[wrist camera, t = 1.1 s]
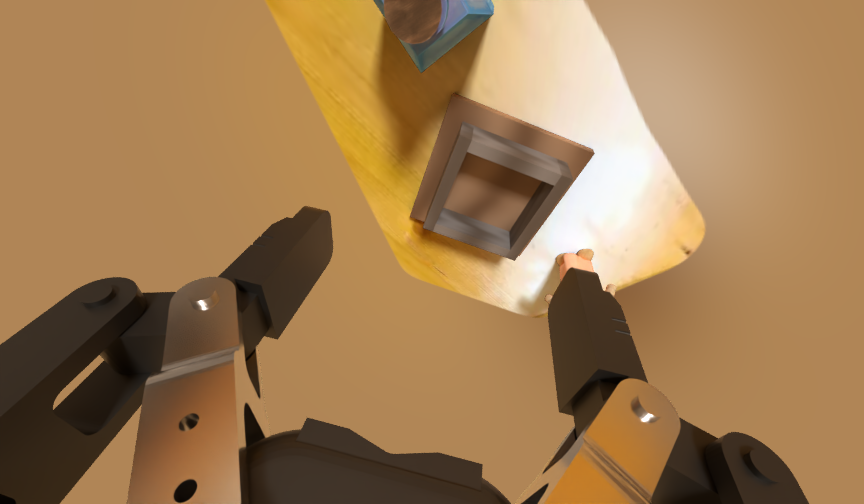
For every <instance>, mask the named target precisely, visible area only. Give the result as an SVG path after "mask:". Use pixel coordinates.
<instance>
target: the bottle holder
mask: <svg viewBox="0 0 864 504" xmlns="http://www.w3.org/2000/svg"><path fill="white" fill-rule="evenodd" d="M594 154H595V153H594V151H593V149H591V148H588V147H586V146H583V145H581V144H578V143H576V142H573V141H571V140H568V139H566V138H564V137H561V136H559V135H556V134H554V133H551V132H549V131H546V130H544V129H541V128H539V127H536V126H534V125H531V124H529V123H527V122H524V121H522V120H519V119H517V118H514V117H512V116H509V115H507V114H504V113H502V112H499V111H497V110H494V109H492V108H489V107H487V106H485V105H482V104H480V103H477V102H475V101H472V100H470V99H467V98H465V97H462V96H460V95H457V94H455V93H453V94H452V97H451V100H450V103H449V106H448V108H447V111H446V114H445V117H444V120H443V123H442V126H441V129H440V131H439V134H438V137H437V140H436V143H435V146H434V149H433V152H432V154H431V157H430V160H429V163H428V166H427V169H426V172H425V175H424V177H423V180H422V183H421V186H420V189H419V192H418V195H417V197H416V200H415V203H414V206H413V209H412V212H411V215H410V217H412V218H415V219H418V220H420V221H423V222H424V225H423V228H424V229H427V230H430V231H433V232H436V233H438V234H441V235H444V236H447V237H450V238H453V239H455V240H458V241H461V242H464V243H467V244H469V245H472V246H475V247H478V248H481V249H483V250H486V251H489V252H492V253H495V254H497V255H500V256H503V257H506V258H509V259H512V260H514V261H515V259H516V258H517V257H518V256H520V255H521V253H522V252H523V251H524V249H525V248H526V247H527V245H528V244H529V242H530V241H531V240H532V238H533V237H534V236H535V234H536V233H537V232H538V230H539V229H540V227H541V226H542V225H543V223H544V222H545V221H546V219H547V218H548V216H549V215H550V214H551V212H552V211H553V210H554V208H555V207H556V206H557V204H558V203H559V201H560V200H561V199H562V197H563V196H564V195H565V193H566V192H567V191H568V189H569V188H570V186H571V185H572V184H573V182H574V181H575V180H576V178H577V177H578V175H579V174H580V173H581V171H582V170H583V169H584V167H585V166H586V165H587V163H588V162H589V160H590V159H591V158H592V156H593V155H594Z"/></svg>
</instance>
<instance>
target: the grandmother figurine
mask: <svg viewBox="0 0 864 504" xmlns="http://www.w3.org/2000/svg"><path fill="white" fill-rule="evenodd" d="M593 255H594V253H593V251H592V250H590V249H582V250H580V251H579V252H578V253H577V255H576V254H574V253H564V254H560V255H558V256H557V257H556V261H557V263H558V264H559V266H560V268H559V269H560V278H561V281H562V279H563V277H564V276H565V274H566V272H567V271H568V269H569V268H571V267H573V268H578V269H582V270H587V271H591V272H594V270H593V266H592V262H591V260H592V257H593ZM605 291H607V292H610V293H611V294H612V296H613V297H614V295H615V291H616V286H615V285H613V284H609V285H607V287H606V290H605ZM552 297H553V296H552V295H550V294H548V295H546V296H545V301H546V302H548V304H550V301H551V299H552Z"/></svg>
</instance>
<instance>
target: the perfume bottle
mask: <svg viewBox="0 0 864 504" xmlns="http://www.w3.org/2000/svg"><path fill="white" fill-rule="evenodd" d="M374 2H375V3H376V5H377V6H378V8H379V9H380V11H381V13H382V14H383V16H384V17H385V19H386V21H387V23H388V25H389V27H390V29H391V31H392V32H393V33H394V34H395V35H396V37H397V38H398V39H399V40H400V42H401V43H402V45H403V46H404V48H405V49H406V51H407V52H408V54H409V55H410V57H411V59H412V60H413V62H414V63H415V65H416V66H417V68H418V69H419V71H420V72H421V73H422V72H423V71H424V70H426V69H427V68H428V67H429V66H430V65H432V64H433V63H434V62H435V61H437V60H438V59H439V58H440V57H442V56H443V55H444V54H445V53H446V52H448V51H449V50H450V49H451V48H453V47H454V46H455V45H456V44H458V43H459V42H460V41H461V40H462V39H464V38H465V37H466V36H467V35H469V34H470V33H471V32H472V31H474V30H475V29H476V28H477V27H478V26H480V25H481V24H482V23H483V22H485V21H486V20H487V19H488V18H490V17H491V16H492V15H493V14H494V5H493V3H492V1H491V0H374Z"/></svg>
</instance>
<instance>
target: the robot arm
mask: <svg viewBox="0 0 864 504" xmlns="http://www.w3.org/2000/svg"><path fill="white" fill-rule="evenodd" d="M332 252H333V240H332V228H331V216H330V213H329V212H328V211H326V210H321V209H317V208H313V207H308V206H304V207H303V208H302V209H301V210H300V211H299V212H298V213H297V214H296V215H295V216H294V217H293V218H288V217H286V218H284V219H282V220H280V221H278V222H276V223H274V224H272V225H271V226H270V227H269V228H268V229H267V230H266V231H265V232H264V233H263V234H262V236H261V237H259V238H258V239H257V240H255V242H254V243H253V245H250V247H248V248H247V249H246V250H245V251H244V252H243V253H242V254H241V255H240V256H239V257H238V258H237V259H236V260H235V261H234V262H233V263H232V264H231V265H230V266H229V267H228V268H227V269H226V270H225V271H224V272H223V273H221V274H220V275H219V276H218V277H207V278H202V279H198V280H195V281H192V282H190V283H188V284H186V285H185V286H183V287H182V288H180V289H179V290H178V291H177V292H160V293H158V292H157V293H142V292H141V291H140V289H139V288H138V286H137V285H136V283H135V282H134V281H132V280H130V279H127V278H121V277H116V278H115V277H113V278H106V279H101V280H97V281H94V282H91V283H88V284H86V285H84V286H82V287H80V288H78V289H76V290H75V291H73V292H72V293H70V294H69V295H68V296H66V297H65V298H64V299H62V300H61V301H59V302H58V303H57V304H55V305H54V306H53V307H51V308H50V309H49V310H48V311H46V312H44V313H43V314H42V315H40V316H39V317H38V318H36V319H35V320H34V321H32V322H31V323H30V324H28V325H27V326H25V327H24V328H23V329H21V330H20V331H19V332H17V333H16V334H14V335H13V336H12V337H11V338H9V339H8V340H6V341H5V342H4V343H2V344H1V345H0V504H60V502H61V501H62V500H63V499H64V498H65V496H66V495H67V494H68V493H69V492H70V490H71V489H72V488H73V487H74V485H75V484H76V483H77V482H78V481H79V479H80V478H81V477H82V476H83V475H84V473H85V472H86V471H87V470H88V469H89V467H90V466H91V465H92V463H94V461H95V460H96V459H97V458H98V457H99V455H100V454H101V453H102V451H103V450H104V449H105V448H106V447H107V446H108V444H109V443H110V442H111V441H112V439H113V438H114V437H115V436H116V435H117V434H118V432H119V431H120V430H121V429H122V427H123V426H124V425H125V424H126V423H127V421H128V420H129V419H130V418H131V417H132V415H133V414H134V413H135V412H136V411H137V409H138V408H139V407H140V406H141V404H142V407H141V414H140V420H139V427H138V433H137V440H136V446H135V454H134V460H133V466H132V473H131V479H130V486H129V492H128V500H127V504H511V503H510V502H509V501H508V500H507V498H506V497H505V496H504V495H503V494H502V493H501V492H500V491H499V490H498V489H497V488H495V487H494V486H493V485H492V484H490V483H489V482H488V481H486V480H485V479H483V478H482V464H479V463H475V462H472V461H468V460H464V459H460V458H456V457H453V456H449V455H445V454H442V453H413V454H390V453H387V452H385V451H384V450H382V449H380V448H379V447H377V446H376V445H374V444H373V443H371V442H369V441H368V440H366V439H365V438H363V437H361V436H360V435H358V434H357V433H355V432H353V431H352V430H350V429H348V428H344V427H340V426H337V425H333V424H329V423H325V422H322V421H318V420H314V419H310V418H307V419H306V421H305V423H304V425H303V428H302V429H301V430H292V431H286V432H282V433H278V434H275V435H272V436H271V431H270V426H269V421H268V417H267V413H266V409H265V403H264V396H263V386H262V377H261V368H260V359H259V350H258V346H257V345H258V344H259V342H260V341H261V339H262V338H263V337H264V336H266V337H270V338H274V339H278V338H279V337H280V335H281V334H282V332H283V331H284V329H285V328H286V326H287V325H288V323H289V322H290V320H291V319H292V317H293V316H294V314H295V313H296V311H297V310H298V308H299V307H300V305H301V304H302V302H303V301H304V300H305V298H306V297H307V295H308V294H309V292H310V291H311V289H312V288H313V286H314V284H315V283H316V282H317V280H318V279H319V277H320V276H321V274H322V273H323V271H324V270H325V268H326V267H327V265H328V264H329V262H330V259H331V257H332ZM548 322H549V330H550V339H551V347H552V356H553V364H554V373H555V382H556V390H557V399H558V407H559V412H561V413H565V414H569V415H573V416H574V422H575V426H574V427H573V428H572V429H571V430H570V432H569V433H568V434H567V436H566V437H565V439H564V440H563V441H562V443H561V444H560V445H559V447H558V448H557V450H556V451H555V452H554V454H553V455H552V457H551V458H550V459H549V461H548V462H547V463H546V465H545V466H544V468H543V469H542V470H541V472H540V473H539V475H538V476H537V477H536V478H535V480H534V481H533V482H532V483H531V485H530V486H529V487H528V488H527V489H526V490H525V491H524V492H523V494H522V495H521V496H520V497H519V499H518V500H517V501H516V502H515V504H809V503H808V501H807V499H806V497H805V495H804V493H803V492H802V490H801V488H800V486H799V484H798V482H797V480H796V479H795V477H794V476H793V474H792V472H791V471H790V469H789V468H788V467H787V465H786V464H785V463H784V462H783V461H782V460H781V459H780V458H779V457H778V456H777V455H776V454H775V453H774V452H773V451H772V450H771V449H770V448H768V447H767V446H766V445H764V444H763V443H762V442H760V441H758V440H757V439H755V438H753V437H751V436H749V435H746V434H743V433H739V432H731V433H728V434H726V435H724V436H722V437H721V438H719V439H718V438H716V437H714V436H712V435H710V434H709V433H707V432H705V431H703V430H701V429H699V428H698V427H696V426H694V425H692V424H690V423H688V422H686V421H685V420H683V419H681V418H679V416H678V413H677V411H676V410H675V408H674V406H673V405H672V403H671V402H670V401H669V399H668V398H667V397H666V396H665V395H664V394H663V393H662V392H661V391H659V390H658V389H657V388H655V387H654V386H652V385H651V384H649V383H648V381H647V379H646V376H645V373H644V370H643V367H642V364H641V361H640V359H639V356H638V353H637V350H636V347H635V345H634V342H633V339H632V336H630V330H629V327H628V325H627V324H626V319H625V316H624V313H623V311H622V308H621V306H620V305H619V303H618V302H617V301H616V299H615V298H614V297H613V296H612V294H611V293H610V292H607V291H603V289H602V286H601V283H600V279H599V276H598V274H597V273H595V272H591V271H587V270H582V269H578V268H573V267H571V268H569V269H568V271H567V272H566V274H565V276H564V277H563V279H562V281H561V283H560V284H559V286H558V288H557V290H556V291H555V293H554V295H553V297H552V299H551V301H550V304H549V308H548ZM98 355H100V356H101V357H102V358H103V359H104V361H103V362H102V363H101V364H100V365H99V366H98V367H97V368H96V369H95V370H94V371H93V372H92V373H91V374H90V375H89V376H88V377H87V378H86V379H85V380H84V381H83V382H82V383H81V384H80V385H79V386H78V387H77V388H76V389H75V390H74V391H73V392H72V393H70V394H69V395H68V396H67V397H66V398H65V399H64V400H63V401H62V402H61V403H60V404H59V405H58V406H57V407H56V408H55V409H54V410H53V404H54V401H55V399H56V397H57V396H58V394H59V393H60V392H61V391H62V390H63V389H64V388H65V387H66V386H67V385H68V384H69V383H70V382H71V381H72V380H73V379H74V378H75V377H76V376H77V375H78V374H79V373H80V372H81V371H83V370H84V369H85V368H86V367H87V366H88V365H89V364H90V363H91V362H92V361H93V360H94V359H95V358H96V357H97V356H98Z"/></svg>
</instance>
